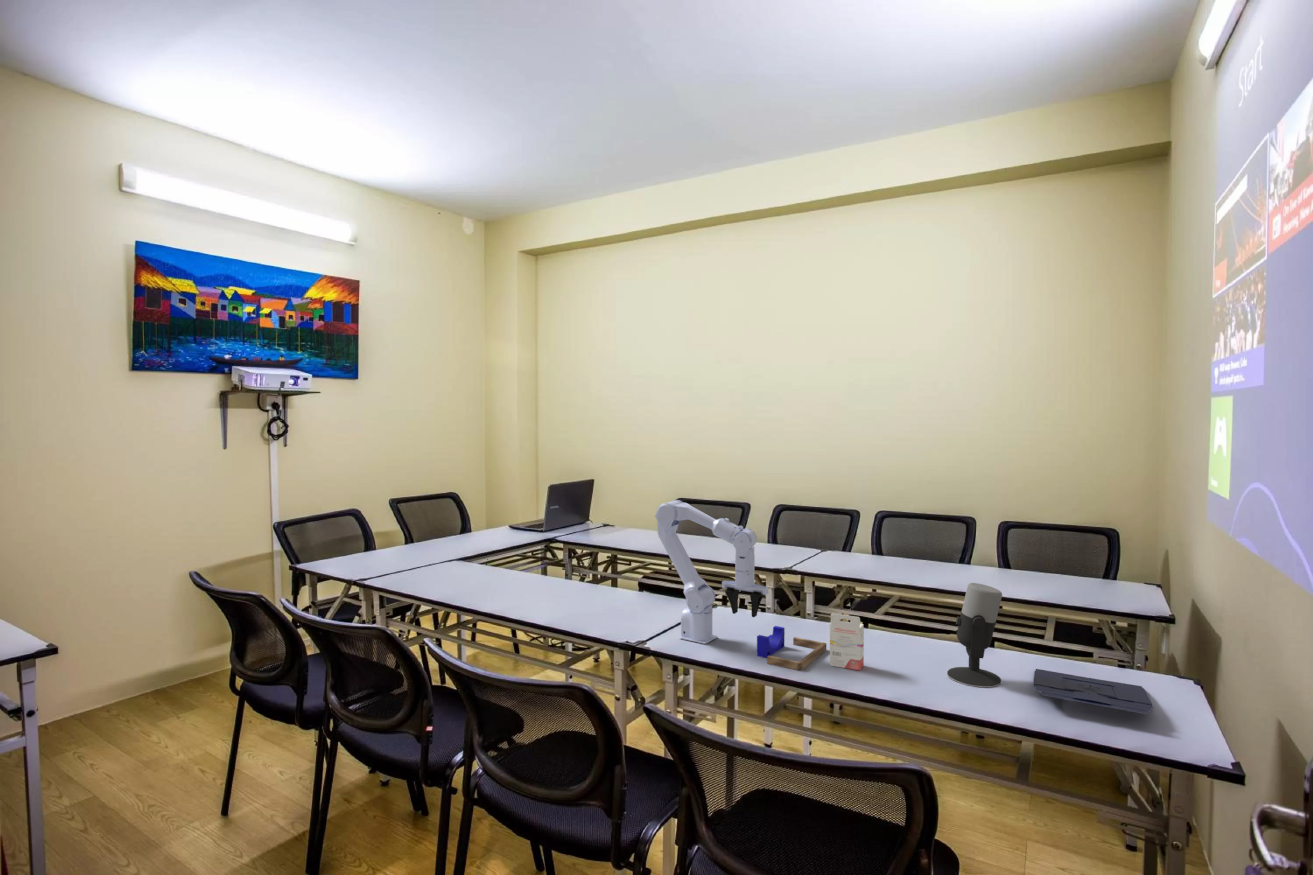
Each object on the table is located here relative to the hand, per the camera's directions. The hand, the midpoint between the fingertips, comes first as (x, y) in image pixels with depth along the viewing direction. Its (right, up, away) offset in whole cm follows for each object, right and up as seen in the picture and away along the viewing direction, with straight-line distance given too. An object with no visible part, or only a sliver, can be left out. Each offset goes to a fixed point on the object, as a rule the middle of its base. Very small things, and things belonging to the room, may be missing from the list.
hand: (744, 614), depth 207 cm
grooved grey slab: (+80, -11, -38) cm, 89 cm away
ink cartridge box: (+26, -10, -16) cm, 32 cm away
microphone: (+58, -11, -25) cm, 64 cm away
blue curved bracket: (+7, -10, -4) cm, 13 cm away
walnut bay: (+14, -10, -9) cm, 19 cm away
